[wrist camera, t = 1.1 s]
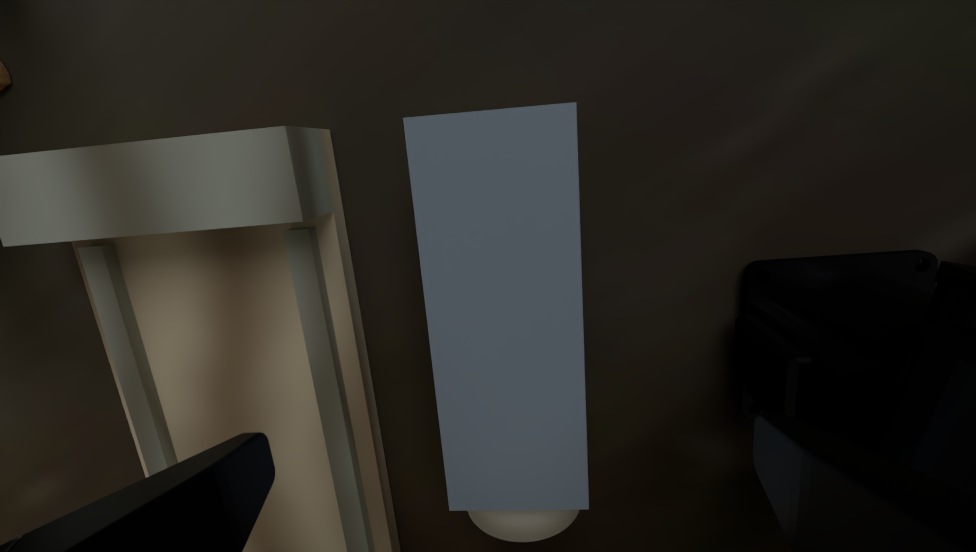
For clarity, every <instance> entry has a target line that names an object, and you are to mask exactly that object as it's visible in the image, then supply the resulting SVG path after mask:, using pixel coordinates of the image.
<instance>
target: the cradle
mask: <svg viewBox="0 0 976 552" xmlns="http://www.w3.org/2000/svg"><path fill="white" fill-rule="evenodd" d="M0 239H1V241H2V244H3V247H6V246H18V245H30V244H42V243H54V242H65V241H71V242H72V245H73V248H74V251H75V255H76V258H77V261H78V264H79V267H80V270H81V274H82V277H83V280H84V283H85V286H86V289H87V293H88V296H89V299H90V302H91V305H92V308H93V312H94V315H95V318H96V321H97V324H98V327H99V331H100V334H101V337H102V340H103V343H104V346H105V350H106V353H107V356H108V359H109V362H110V365H111V369H112V372H113V375H114V378H115V381H116V385H117V388H118V391H119V394H120V397H121V400H122V404H123V407H124V410H125V413H126V416H127V419H128V423H129V426H130V429H131V432H132V435H133V438H134V442H135V445H136V448H137V451H138V454H139V457H140V461H141V464H142V467H143V470H144V473H145V476H146V478H147V477H149V476H151V475H153V474H155V473H157V472H160V471H162V470H164V469H166V468H168V467H170V466H172V465H175V464H177V463H179V462H181V461H183V460H185V459H187V458H190V457H192V456H194V455H196V454H198V453H200V452H202V451H205V450H207V449H209V448H211V447H213V446H215V445H217V444H220V443H222V442H224V441H226V440H228V439H230V438H233V437H235V436H237V435H239V434H241V433H248V432H262V433H264V434H265V435H266V436H267V437H268V440H269V445H270V449H271V453H272V457H273V461H274V466H275V479H274V483H273V485H272V487H271V490H270V492H269V494H268V496H267V498H266V501H265V503H264V505H263V507H262V510H261V512H260V514H259V516H258V518H257V521H256V523H255V525H254V527H253V530H252V532H251V534H250V536H249V538H248V541H247V543H246V545H245V547H244V549H243V551H242V552H401V551H400V545H399V539H398V533H397V527H396V521H395V515H394V509H393V503H392V497H391V491H390V485H389V479H388V474H387V468H386V462H385V456H384V450H383V444H382V438H381V432H380V426H379V420H378V414H377V408H376V402H375V396H374V390H373V384H372V378H371V372H370V366H369V361H368V355H367V349H366V343H365V337H364V331H363V325H362V319H361V313H360V307H359V301H358V295H357V289H356V283H355V277H354V271H353V265H352V259H351V253H350V248H349V242H348V236H347V230H346V224H345V218H344V212H343V206H342V200H341V194H340V188H339V182H338V176H337V170H336V164H335V158H334V152H333V146H332V140H331V134H330V130H327V129H315V128H304V127H292V126H279V127H269V128H260V129H251V130H241V131H232V132H222V133H213V134H203V135H194V136H184V137H175V138H165V139H156V140H146V141H137V142H127V143H118V144H108V145H99V146H89V147H80V148H70V149H61V150H51V151H42V152H33V153H23V154H14V155H4V156H0Z"/></svg>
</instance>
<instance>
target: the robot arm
mask: <svg viewBox="0 0 976 552" xmlns="http://www.w3.org/2000/svg"><path fill="white" fill-rule="evenodd" d="M919 260H921V261H922V263H921V266H920V267H919V268H917V269H915V265H916V263H917V262H918V261H919ZM937 267H938V260H937V258H936V256H935V255H933V254H932V253H929V252H926V251H922V250H905V251H891V252H876V253H861V254H847V255H832V256H818V257H803V258H788V259H774V260H759V261H754V262H752V263H750V264H749V265H747V267H746V268H745V270H744V274H743V294H742V314H740V315H739V317H738V318H737V319H736V320H735V342H734V368H733V376H734V378H735V379H736V381H737V382H738V383H739V388H738V408H739V409H740V411H741V412H742V413H743V414H744V416H745V417H747V418H748V419H752V420H755V421H754V437H753V463H754V467H755V470H756V472H757V475H758V477H759V479H760V481H761V483H762V486H763V488H764V490H765V492H766V494H767V497H768V499H769V501H770V503H771V506H772V508H773V510H774V512H775V514H776V517H777V519H778V521H779V523H780V525H781V528H782V530H783V532H784V534H785V537H786V539H787V541H788V543H789V545H790V547H791V549H792V551H793V552H976V266H972V265H966V264H959V263H953V262H947V261H941V263H940V266H939V268H938V271H937ZM762 269H763V270H764V275H763V277H762V278H761V279H758V280H755V274H756V273H757V272H758V271H759V270H762ZM935 282H937V286H936V288H935V291H934V287H935ZM753 403H757V405H756V407H755V408H753V409H748V408H749V406H750V405H751V404H753ZM274 479H275V466H274V461H273V457H272V453H271V449H270V445H269V440H268V437H267V436H266V435H265V434H264V433H262V432H248V433H241V434H239V435H237V436H235V437H233V438H230V439H228V440H226V441H224V442H222V443H220V444H217V445H215V446H213V447H211V448H209V449H207V450H205V451H202V452H200V453H198V454H196V455H194V456H192V457H190V458H187V459H185V460H183V461H181V462H179V463H177V464H175V465H172V466H170V467H168V468H166V469H164V470H162V471H160V472H157V473H155V474H153V475H151V476H149V477H147V478H144V479H142V480H140V481H138V482H136V483H134V484H132V485H129V486H127V487H125V488H123V489H121V490H119V491H117V492H114V493H112V494H110V495H108V496H106V497H104V498H102V499H99V500H97V501H95V502H93V503H91V504H89V505H87V506H84V507H82V508H80V509H78V510H76V511H74V512H71V513H69V514H67V515H65V516H63V517H61V518H59V519H56V520H54V521H52V522H50V523H48V524H46V525H44V526H41V527H39V528H37V529H35V530H33V531H31V532H29V533H26V534H24V535H23V536H22V537H21V538H20V539H19V538H16V539H13V540H11V541H9V542H7V543H5V544H3V545H0V552H242V551H243V549H244V547H245V545H246V543H247V541H248V538H249V536H250V534H251V532H252V530H253V527H254V525H255V523H256V521H257V518H258V516H259V514H260V512H261V510H262V507H263V505H264V503H265V501H266V498H267V496H268V494H269V492H270V490H271V487H272V485H273V483H274Z"/></svg>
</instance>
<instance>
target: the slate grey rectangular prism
mask: <svg viewBox="0 0 976 552" xmlns="http://www.w3.org/2000/svg"><path fill="white" fill-rule="evenodd" d="M403 122H404V130H405V138H406V147H407V155H408V164H409V172H410V181H411V189H412V198H413V206H414V214H415V223H416V231H417V240H418V248H419V257H420V265H421V274H422V282H423V290H424V299H425V307H426V316H427V324H428V333H429V341H430V350H431V358H432V367H433V375H434V383H435V392H436V400H437V409H438V417H439V426H440V434H441V443H442V451H443V459H444V468H445V476H446V485H447V493H448V502H449V510H450V511H462V510H467V511H468V514H469V516H470V518H471V519H472V521H473V522H474V523H475V524H476V525H477V526H478V527H479V528H480V529H481V530H482V531H484V532H485V533H487V534H489V535H491V536H493V537H496V538H498V539H502V540H506V541H512V542H532V541H539V540H543V539H546V538H549V537H552V536H554V535H556V534H558V533H560V532H561V531H563V530H564V529H566V528H567V527H568V526H569V525H570V524H571V523H572V522H573V521H574V519H575V518H576V516H577V515H578V513H579V510H580V509H589V495H588V463H587V431H586V399H585V368H584V336H583V304H582V272H581V240H580V209H579V177H578V145H577V113H576V102H574V103H563V104H552V105H541V106H530V107H519V108H508V109H497V110H486V111H475V112H464V113H453V114H442V115H430V116H419V117H408V118H403Z"/></svg>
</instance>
